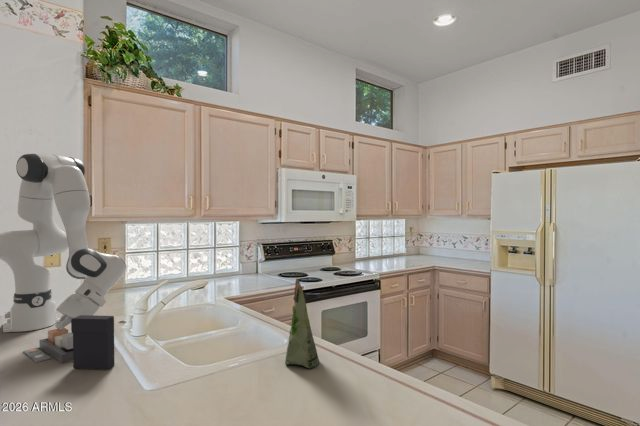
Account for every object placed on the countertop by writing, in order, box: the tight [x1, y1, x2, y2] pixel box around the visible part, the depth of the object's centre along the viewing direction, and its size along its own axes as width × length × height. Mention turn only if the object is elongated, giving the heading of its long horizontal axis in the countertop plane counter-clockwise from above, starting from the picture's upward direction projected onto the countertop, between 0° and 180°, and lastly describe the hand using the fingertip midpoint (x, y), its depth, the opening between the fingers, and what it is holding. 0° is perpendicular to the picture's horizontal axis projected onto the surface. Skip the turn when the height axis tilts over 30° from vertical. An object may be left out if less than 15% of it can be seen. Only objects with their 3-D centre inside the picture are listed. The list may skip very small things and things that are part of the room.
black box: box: [70, 314, 115, 371], centre depth 108 cm, size 11×4×15 cm, turn 84°
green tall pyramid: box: [285, 277, 320, 369], centre depth 110 cm, size 11×12×25 cm
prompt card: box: [22, 347, 51, 363], centre depth 117 cm, size 14×4×1 cm, turn 52°
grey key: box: [62, 331, 73, 349], centre depth 117 cm, size 5×5×4 cm
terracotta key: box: [47, 327, 69, 343], centre depth 125 cm, size 5×5×4 cm
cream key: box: [55, 335, 63, 348], centre depth 121 cm, size 5×5×4 cm
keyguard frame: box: [39, 337, 73, 364], centre depth 121 cm, size 22×9×2 cm, turn 52°
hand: (57, 328), depth 125 cm, fingers closed
